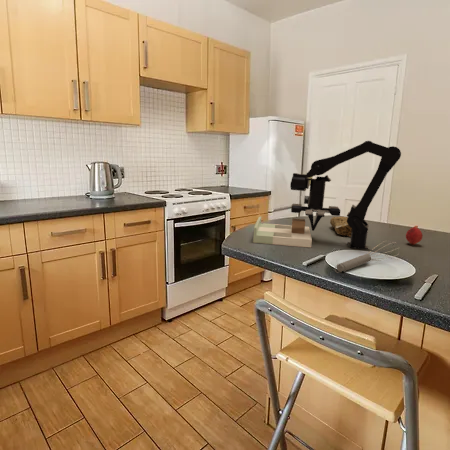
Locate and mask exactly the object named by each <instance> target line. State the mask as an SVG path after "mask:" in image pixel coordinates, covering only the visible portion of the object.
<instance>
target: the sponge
mask: <svg viewBox="0 0 450 450" xmlns="http://www.w3.org/2000/svg"><path fill="white" fill-rule="evenodd" d="M347 218H348V217H347V216H332V217H331V219H330V220H329V223H330V225H331V227H333V228H334V230H335V233H336V234H338V235H340V236H346V237H348V238H351V232H352V228H351V227H350V226H349V225H348V223H347Z"/></svg>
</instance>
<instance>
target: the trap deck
mask: <svg viewBox="0 0 450 450" xmlns="http://www.w3.org/2000/svg"><path fill="white" fill-rule="evenodd" d="M252 238H253V239H252V243H253V244H254V243H255V244H266V245H276V246H287V247H288V246H289V247H299V248H312V243H313V241H312V234H311V229H310V226H305V231H304V234H299V233H292V224H290V225H289V224H277V223H276V224H275V223H264V222H263V223H262V216H258V218H257V220H256V222H255V224H254V227H253V237H252Z"/></svg>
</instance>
